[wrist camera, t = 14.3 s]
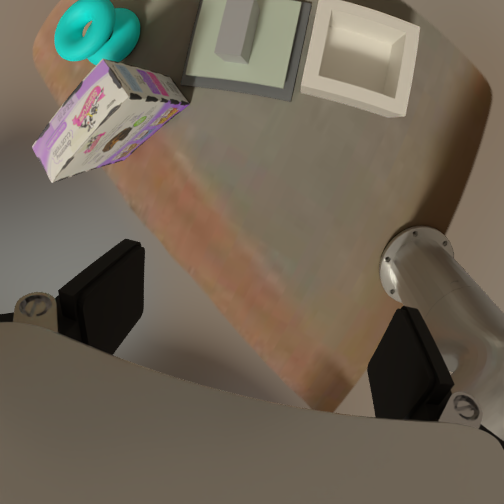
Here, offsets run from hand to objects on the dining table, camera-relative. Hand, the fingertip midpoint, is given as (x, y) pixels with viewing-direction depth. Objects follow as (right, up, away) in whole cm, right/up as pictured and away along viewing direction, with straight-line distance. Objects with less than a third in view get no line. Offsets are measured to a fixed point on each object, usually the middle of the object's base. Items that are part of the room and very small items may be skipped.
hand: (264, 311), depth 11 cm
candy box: (-16, +21, +29) cm, 40 cm away
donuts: (-21, +35, +24) cm, 47 cm away
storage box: (+13, +26, +22) cm, 37 cm away
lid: (-1, +30, +23) cm, 37 cm away
